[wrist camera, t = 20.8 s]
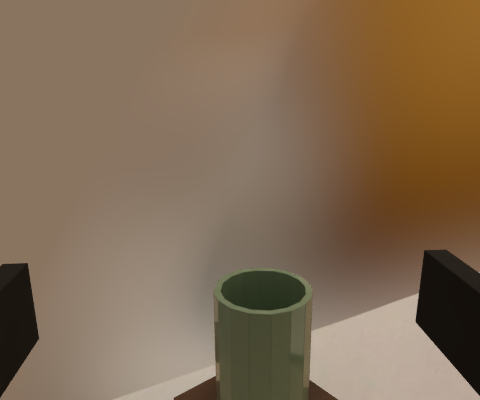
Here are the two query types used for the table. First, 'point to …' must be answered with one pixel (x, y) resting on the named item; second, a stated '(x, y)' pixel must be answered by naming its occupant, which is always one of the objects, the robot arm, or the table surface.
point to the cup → (262, 335)
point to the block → (205, 396)
